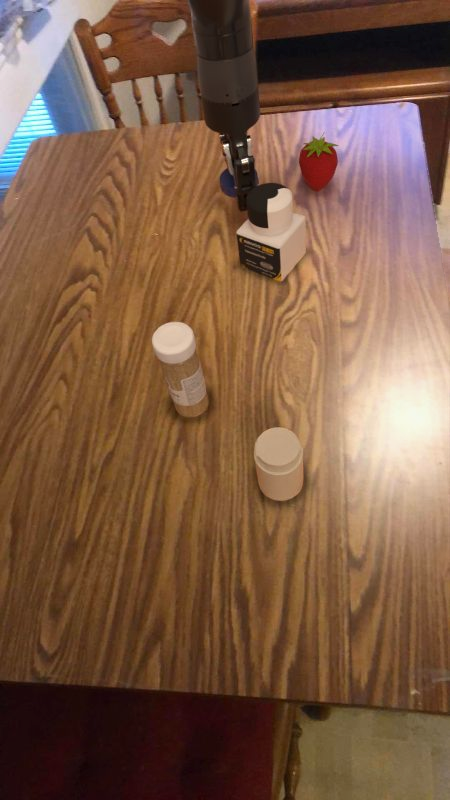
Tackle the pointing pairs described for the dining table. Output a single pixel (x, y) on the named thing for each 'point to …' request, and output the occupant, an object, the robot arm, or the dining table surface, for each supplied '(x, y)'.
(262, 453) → the jar
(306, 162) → the strawberry
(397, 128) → the dining table surface
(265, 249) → the medicine bottle
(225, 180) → the jar lid
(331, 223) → the dining table surface
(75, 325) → the dining table surface
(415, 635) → the dining table surface
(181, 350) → the sprinkles bottle
